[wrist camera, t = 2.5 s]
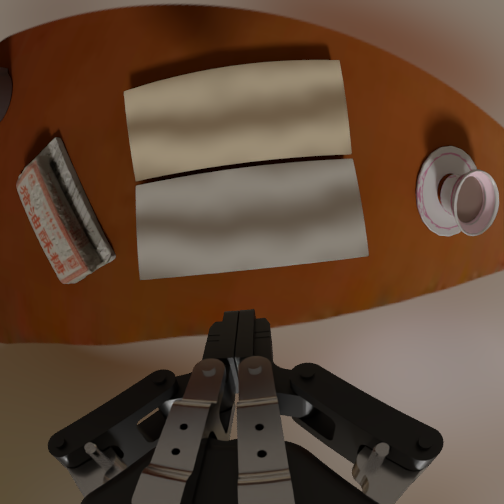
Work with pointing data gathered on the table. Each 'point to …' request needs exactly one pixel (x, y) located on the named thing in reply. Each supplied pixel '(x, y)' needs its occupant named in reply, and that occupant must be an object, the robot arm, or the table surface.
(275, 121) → the oak plank
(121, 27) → the table surface
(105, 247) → the packaged product
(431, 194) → the teacup
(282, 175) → the whitewashed plank
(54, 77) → the table surface
